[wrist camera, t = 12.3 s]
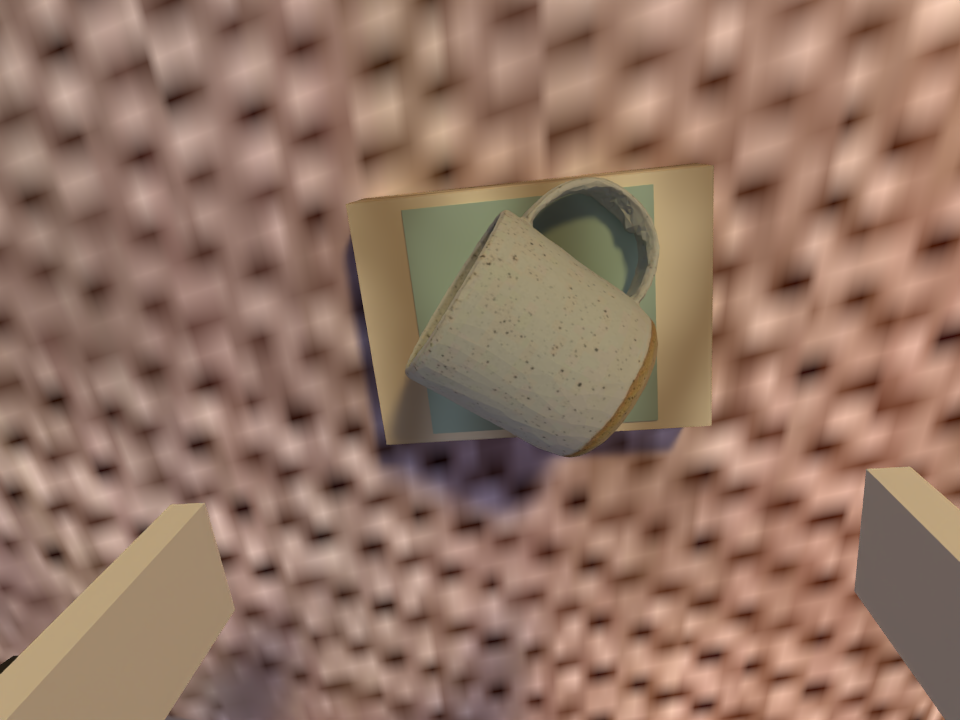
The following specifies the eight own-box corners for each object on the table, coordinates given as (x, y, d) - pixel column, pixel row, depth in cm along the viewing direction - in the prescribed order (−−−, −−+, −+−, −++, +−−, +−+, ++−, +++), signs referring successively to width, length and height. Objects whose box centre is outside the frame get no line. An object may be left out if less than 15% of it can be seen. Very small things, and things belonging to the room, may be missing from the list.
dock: (398, 420, 35) (386, 445, 32) (363, 198, 31) (345, 204, 28) (696, 401, 33) (711, 426, 30) (696, 163, 29) (714, 165, 26)
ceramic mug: (563, 425, 31) (573, 509, 24) (418, 338, 30) (382, 398, 23) (697, 237, 28) (757, 268, 20) (539, 135, 27) (542, 129, 20)
